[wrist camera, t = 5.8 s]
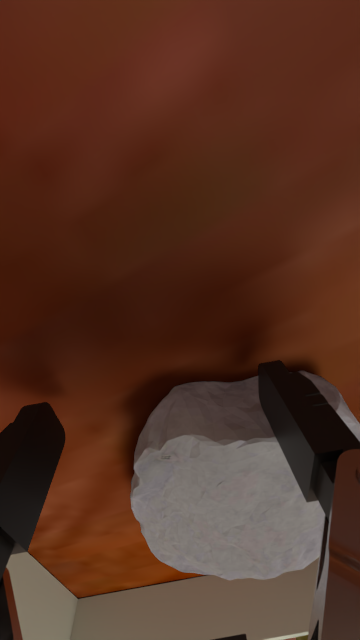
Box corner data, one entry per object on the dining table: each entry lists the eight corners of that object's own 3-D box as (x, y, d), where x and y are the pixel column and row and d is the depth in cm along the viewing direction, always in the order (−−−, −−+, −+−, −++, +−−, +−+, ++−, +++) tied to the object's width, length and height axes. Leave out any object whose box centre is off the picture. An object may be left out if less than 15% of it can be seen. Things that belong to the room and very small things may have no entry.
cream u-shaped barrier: (-82, 472, 13) (-170, 579, 9) (439, 375, 13) (546, 447, 9) (71, 604, 23) (55, 680, 20) (363, 551, 23) (401, 618, 19)
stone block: (154, 486, 19) (296, 501, 17) (136, 574, 14) (323, 601, 13) (134, 351, 13) (336, 357, 12) (96, 425, 9) (403, 447, 8)
